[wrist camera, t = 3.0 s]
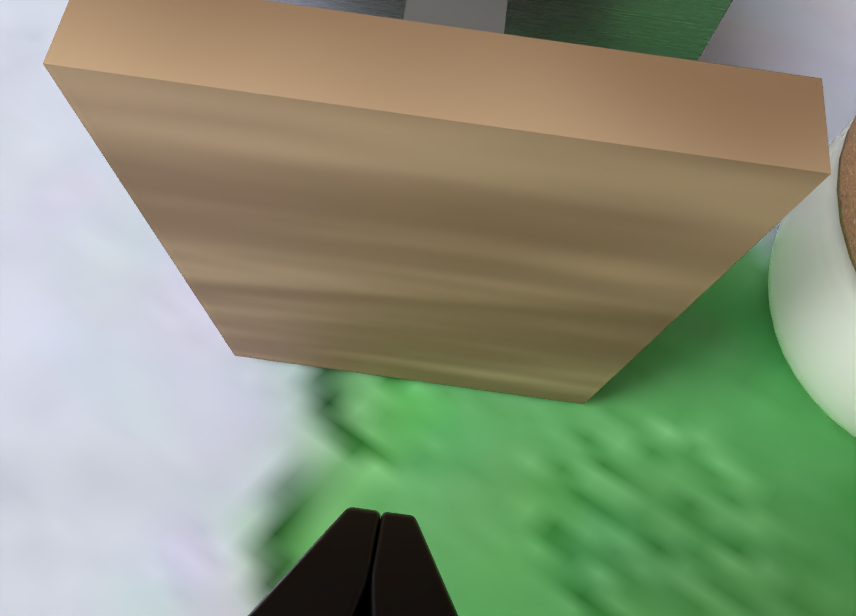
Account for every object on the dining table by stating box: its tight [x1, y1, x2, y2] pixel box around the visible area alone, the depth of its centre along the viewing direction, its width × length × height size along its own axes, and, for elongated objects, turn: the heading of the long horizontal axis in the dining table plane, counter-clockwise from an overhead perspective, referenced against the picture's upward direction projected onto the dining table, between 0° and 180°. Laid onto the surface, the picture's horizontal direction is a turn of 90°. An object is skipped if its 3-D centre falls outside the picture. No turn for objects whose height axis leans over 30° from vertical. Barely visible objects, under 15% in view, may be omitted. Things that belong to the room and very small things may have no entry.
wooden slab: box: [43, 0, 831, 404], centre depth 16 cm, size 9×12×12 cm
